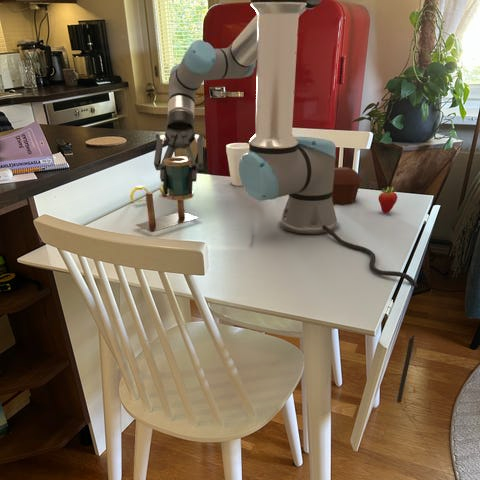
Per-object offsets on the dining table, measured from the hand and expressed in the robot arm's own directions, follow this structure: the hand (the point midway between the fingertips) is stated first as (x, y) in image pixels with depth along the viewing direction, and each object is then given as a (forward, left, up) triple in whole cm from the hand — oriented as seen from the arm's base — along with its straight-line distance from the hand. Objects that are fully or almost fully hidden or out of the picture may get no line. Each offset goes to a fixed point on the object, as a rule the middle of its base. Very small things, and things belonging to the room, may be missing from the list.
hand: (177, 191), depth 129 cm
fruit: (-40, -46, -10) cm, 61 cm away
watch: (+24, -6, -10) cm, 27 cm away
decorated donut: (+24, -21, -10) cm, 34 cm away
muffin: (-23, -49, -10) cm, 55 cm away
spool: (+2, -3, -2) cm, 4 cm away
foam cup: (+16, -45, -10) cm, 49 cm away
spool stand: (+3, +2, -10) cm, 11 cm away
